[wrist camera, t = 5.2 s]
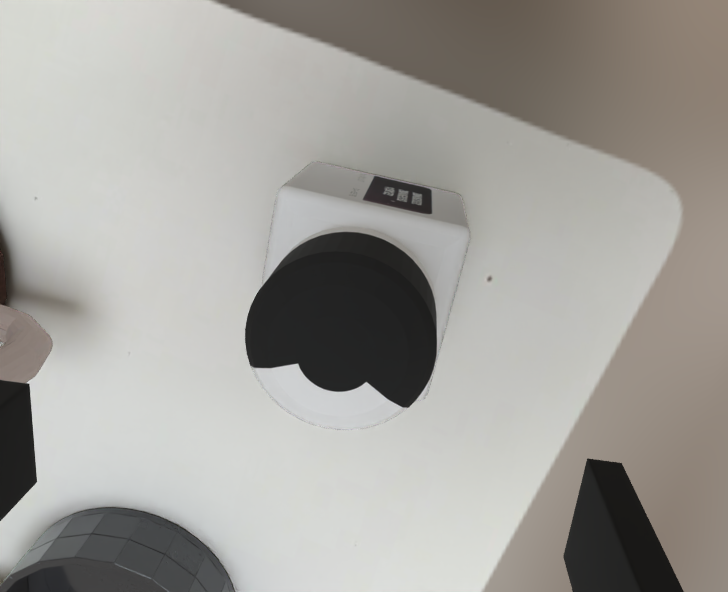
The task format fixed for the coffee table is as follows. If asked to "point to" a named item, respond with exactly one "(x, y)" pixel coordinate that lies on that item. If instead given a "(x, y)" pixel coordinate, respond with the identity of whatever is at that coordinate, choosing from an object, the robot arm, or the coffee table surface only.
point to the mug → (20, 340)
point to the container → (354, 295)
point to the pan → (117, 557)
